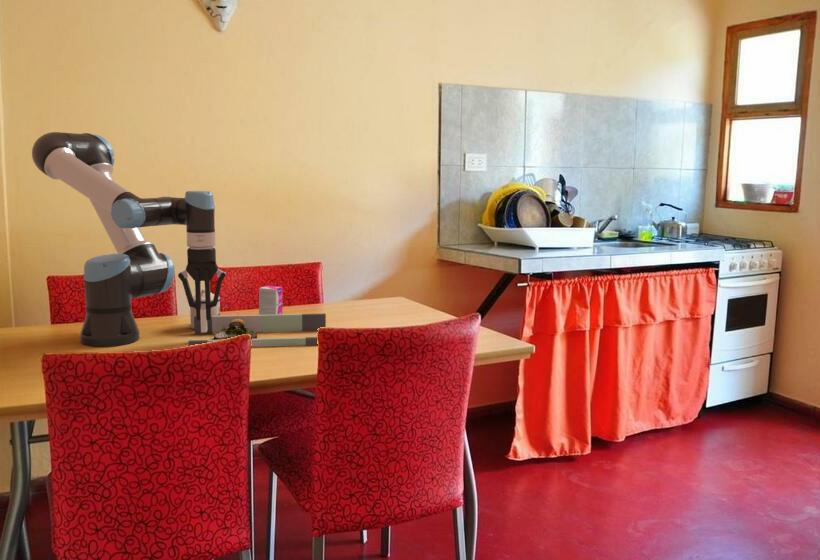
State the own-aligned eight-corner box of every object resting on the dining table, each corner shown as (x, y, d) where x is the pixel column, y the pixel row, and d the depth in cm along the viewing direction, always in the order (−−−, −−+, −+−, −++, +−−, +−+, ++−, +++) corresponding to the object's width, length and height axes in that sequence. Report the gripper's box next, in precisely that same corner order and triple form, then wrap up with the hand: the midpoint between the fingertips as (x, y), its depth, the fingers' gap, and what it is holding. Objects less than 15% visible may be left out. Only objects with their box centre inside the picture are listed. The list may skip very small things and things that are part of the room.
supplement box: (276, 325, 221) (276, 289, 220) (258, 324, 223) (257, 288, 221) (283, 321, 227) (283, 286, 225) (265, 320, 228) (265, 285, 226)
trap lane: (188, 348, 192) (188, 330, 191) (194, 332, 210) (194, 316, 209) (331, 344, 200) (331, 327, 199) (325, 329, 218) (325, 313, 217)
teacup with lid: (225, 328, 216) (224, 290, 214) (195, 331, 211) (194, 292, 210) (212, 320, 226) (211, 284, 224) (183, 323, 221) (182, 286, 220)
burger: (205, 342, 200) (204, 316, 199) (231, 333, 211) (230, 308, 210) (241, 347, 196) (240, 320, 195) (265, 338, 207) (265, 312, 205)
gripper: (174, 249, 193) (178, 335, 196) (225, 248, 195) (227, 333, 199) (178, 246, 200) (181, 329, 203) (226, 245, 202) (228, 327, 206)
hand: (204, 331), depth 201 cm, fingers closed
